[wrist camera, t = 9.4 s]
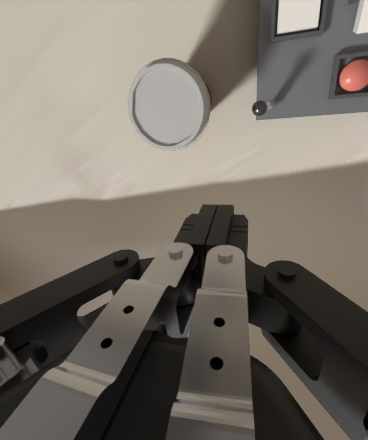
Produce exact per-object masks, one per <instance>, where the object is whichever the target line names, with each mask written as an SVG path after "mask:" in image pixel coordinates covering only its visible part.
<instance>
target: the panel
mask: <svg viewBox="0 0 368 440" xmlns="http://www.w3.org/2000/svg"><path fill="white" fill-rule="evenodd" d="M278 2H279V0H259V32H258V69H257V101H259V100H262V101H264V102H265V101H268V100H271V99H274V98H278V99H279V101H280V103H279V105H278V106H276V107H274V108H272V109H269V110H267V111H266V113H265V114H264V115H262V116H256V120H264V119H278V118H291V117H304V116H317V115H330V114H344V113H357V112H368V84H367V85H366V86H364V87H363V88H361V89H360V90H357V91H347V90H344V89H342V88H341V87H340V85H339V83H338V77H339V73H340V71H341V70H342V68H343V67H344V66H345V65H346V64H348V63H349V62H352V61H355V60H366V61H368V32H367V33H360V34H356V33H354V32H353V28H354V24H355V19H356V15H357V11H358V6H359V2H360V0H321V3H320V12H319V20H318V27H317V28H316V29H310V30H303V31H297V32H291V33H285V34H278V35H277V20H278Z"/></svg>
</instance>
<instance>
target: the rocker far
mask: <svg viewBox="0 0 368 440" xmlns="http://www.w3.org/2000/svg"><path fill="white" fill-rule="evenodd" d="M353 32H354V33H356V34H360V33H367V32H368V0H360V2H359V6H358V11H357V15H356V19H355V24H354V28H353Z"/></svg>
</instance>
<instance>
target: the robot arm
mask: <svg viewBox="0 0 368 440" xmlns="http://www.w3.org/2000/svg"><path fill="white" fill-rule="evenodd" d="M247 249H248V220H247V218H246V217H245V216H244V215H234V206H233V205H206V204H205V205H204V204H203V205H202V207H201V209H200V212H199V214H191V215H190V216H189V217H187V218H186V219H185V221H184V223H183V225H182V227H181V229H180V231H179V233H178V235H177V237H176V238H175V241H174V242H173V243H172V244H168V245H166V246H164V247H163V248H162V249H161V250H160V251H159V252H158V254H157V255H156V257H154V258H147V259H140V260H139V255H138V253H137V252H135V251H133V250H120V251H117V252H114V253H112V254H110V255H108V256H105V257H103V258H101V259H99V260H97V261H94V262H92V263H90V264H88V265H86V266H83V267H81V268H79V269H77V270H75V271H73V272H71V273H69V274H66V275H64V276H62V277H59V278H57V279H55V280H53V281H51V282H49V283H47V284H44V285H42V286H40V287H38V288H36V289H33V290H31V291H29V292H27V293H25V294H23V295H20V296H18V297H16V298H14V299H12V300H9V301H7V302H5V303H3V304H1V305H0V440H324V439H323V437H322V436H321V435H320V433H319V432H318V430H317V429H316V428H315V426H314V425H313V423H312V422H311V421H310V419H309V418H308V417H307V415H306V414H305V413H304V411H303V410H302V408H301V407H300V405H299V404H298V403H297V401H296V400H295V399H294V397H293V396H292V394H291V393H290V392H289V390H288V389H287V388H286V386H285V385H284V384H283V382H282V381H281V380H280V379H279V378H278V377H277V375H276V374H275V373H274V372H273V371H272V370H271V369H269V368H268V367H267V366H266V365H265V364H263V363H262V362H260V361H259V360H258V359H256V358H254V357H252V356H251V355H250V346H249V326H248V323H251V324H253V325H255V326H257V327H260V328H261V330H262V334H263V336H264V337H265V338H266V339H267V341H268V342H269V343H270V344H271V345H272V346H273V348H274V349H275V350H276V351H277V353H278V354H279V355H280V356H281V357H282V358H283V360H284V361H285V362H286V363H287V364H288V366H289V367H290V368H291V369H292V370H293V372H294V373H295V374H296V375H297V376H298V377H299V379H300V380H301V381H302V382H303V383H304V384H305V386H306V387H307V388H308V389H309V390H310V392H311V393H312V394H313V395H314V396H315V398H316V399H317V400H318V401H319V402H320V404H321V405H322V406H323V407H324V408H325V409H326V411H327V412H328V413H329V414H330V415H331V417H332V418H333V419H334V420H335V421H336V423H337V424H338V425H339V426H340V427H341V429H342V430H343V431H344V432H345V433H346V434H347V436H348V437H349V438H350V439H351V440H368V312H367V311H365V310H364V309H362V308H361V307H360V306H358V305H357V304H355V303H354V302H352V301H351V300H350V299H348V298H347V297H345V296H344V295H342V294H341V293H340V292H338V291H337V290H335V289H334V288H332V287H331V286H330V285H328V284H327V283H325V282H324V281H322V280H321V279H320V278H318V277H317V276H315V275H314V274H313V273H311V272H310V271H308V270H307V269H305V268H304V267H303V266H301V265H299V264H297V263H294V262H291V261H275V262H272V263H270V264H268V265H267V266H266V267H263V266H260V265H257V264H255V263H253V262H251V261H250V260H249V259H248V257H247ZM109 290H112V293H113V296H114V297H113V298H112V299H111V301H110V302H108V303H107V304H105V305H103V306H101V307H99V308H98V309H96V310H94V311H92V312H90V313H89V314H87V315H85V316H82V317H80V316H77V311H78V309H79V308H80V307H81V306H82V305H83V304H85V303H87V302H89V301H91V300H93V299H94V298H96V297H98V296H100V295H102V294H104V293H106V292H108V291H109ZM189 329H190V331H189ZM188 332H189V336H188V337H187V335H188Z"/></svg>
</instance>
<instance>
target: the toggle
mask: <svg viewBox="0 0 368 440" xmlns="http://www.w3.org/2000/svg"><path fill="white" fill-rule="evenodd" d="M279 103H280V101H279V99H278V98H274V99H271V100H268V101H265V102H264V101H262V100H259V101H257V102H255V103H254V105H253V107H252V112H253V114H254V115H256V116H262V115H264V114H265V113H266V111H267V110H269V109H272V108H274V107H276V106H278V105H279Z"/></svg>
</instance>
